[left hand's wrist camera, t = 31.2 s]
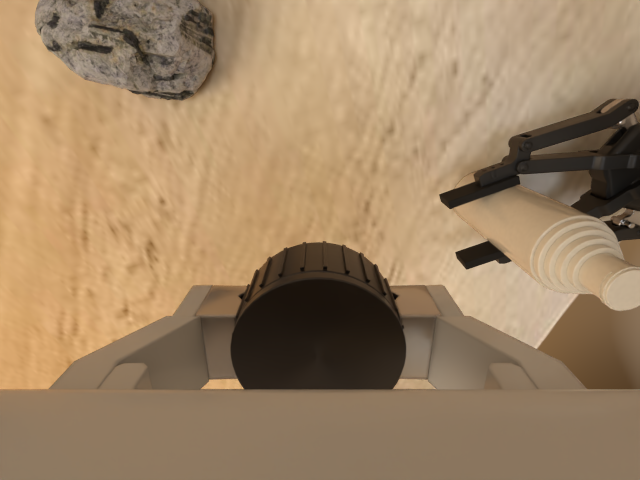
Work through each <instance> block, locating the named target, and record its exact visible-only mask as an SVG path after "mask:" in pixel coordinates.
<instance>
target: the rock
mask: <svg viewBox="0 0 640 480" xmlns="http://www.w3.org/2000/svg"><path fill="white" fill-rule="evenodd" d="M212 23H213V15H212V13H211V12H210V11H209V10H208V9H207V8H205V7H204V6H203V5H201V4H200V3H199V2H198V0H40V1H39V3H38V5H37V9H36V12H35V26H36V28H37V32H38V34H39V35H40V36H41V38H42V41H43V43H44V44H45V46H46V47H47V49H48V51H50V52H52V53H54V54H55V55H56V56H57V57H58V58H60V59H61V60H62V61H63V62H64V63H65V64H66V65H67V66H68V67H69V68H70V70H72V71H73V72H75V73H76V74H78V75H79V76H81V77H82V78H84V79H85V80H89V81H93V82H97V83H101V84H106V85H113V86H115V87H117V88H122V89H123V88H125V89H128V90H129V91H131V92H132V93H135V94H143V95H144V96H146V97H149V98H157V99H161V98H163V99H167V100H170V99H175V100H181V101H182V100H184V99H187V98H189V97H191V96H193V95H194V94H195V93H196V92H197V90H198V88H199V87H200V86H201V85H202V83H203V82H204V81H205V79H206V77H207V74H208V73H209V71H210V70H211V69H212V66H213V63H214V59H215V52H214V49H213V37H214V34H213V29H212Z"/></svg>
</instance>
